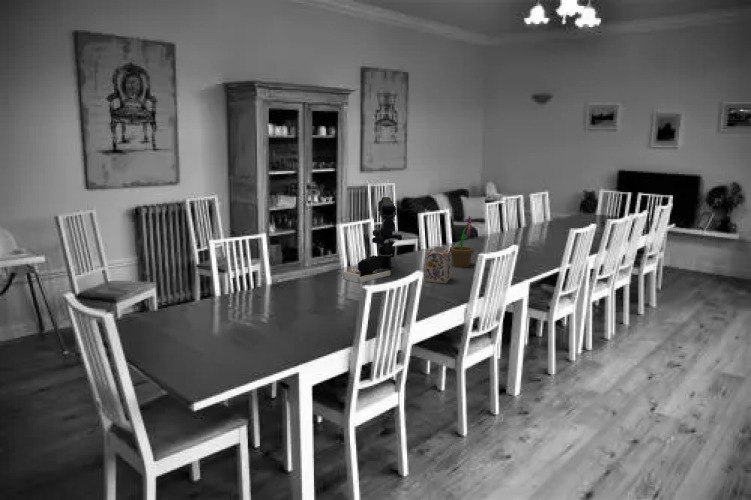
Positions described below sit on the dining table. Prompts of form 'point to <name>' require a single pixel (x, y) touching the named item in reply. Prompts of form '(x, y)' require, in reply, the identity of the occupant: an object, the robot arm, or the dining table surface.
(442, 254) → the decorative jar
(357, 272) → the tester cradle
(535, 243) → the dining table surface
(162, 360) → the dining table surface
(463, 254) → the flowerpot
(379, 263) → the security camera
